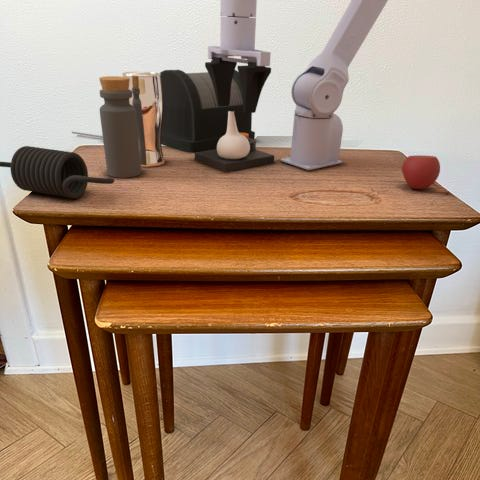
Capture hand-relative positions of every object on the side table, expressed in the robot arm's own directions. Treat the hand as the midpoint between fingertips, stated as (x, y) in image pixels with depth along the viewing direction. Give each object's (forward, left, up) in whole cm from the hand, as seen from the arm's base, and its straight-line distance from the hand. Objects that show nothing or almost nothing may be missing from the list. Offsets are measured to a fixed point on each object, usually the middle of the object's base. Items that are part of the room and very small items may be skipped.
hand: (236, 109), depth 81 cm
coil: (+30, -3, -4) cm, 30 cm away
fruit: (-17, +25, -8) cm, 31 cm away
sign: (+15, -41, -10) cm, 45 cm away
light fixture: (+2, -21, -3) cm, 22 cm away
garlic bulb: (-1, -2, -9) cm, 9 cm away
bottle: (+19, -7, -10) cm, 23 cm away
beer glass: (+12, -11, -10) cm, 19 cm away
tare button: (-6, -6, -7) cm, 11 cm away
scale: (-3, -3, -10) cm, 11 cm away
